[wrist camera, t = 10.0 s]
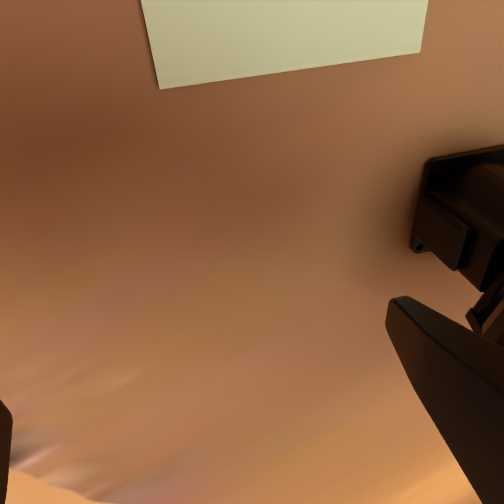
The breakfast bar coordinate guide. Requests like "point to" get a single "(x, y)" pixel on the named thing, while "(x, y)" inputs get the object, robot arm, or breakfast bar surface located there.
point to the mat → (274, 35)
